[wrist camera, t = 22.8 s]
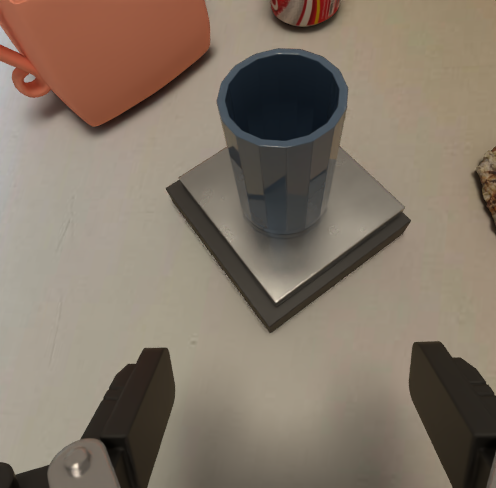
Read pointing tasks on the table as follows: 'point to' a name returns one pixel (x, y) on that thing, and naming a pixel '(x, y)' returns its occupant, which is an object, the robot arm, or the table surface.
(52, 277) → the table surface
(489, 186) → the mineral rock
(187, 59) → the teapot
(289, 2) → the soda can
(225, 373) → the table surface
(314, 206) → the cup
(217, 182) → the scale
